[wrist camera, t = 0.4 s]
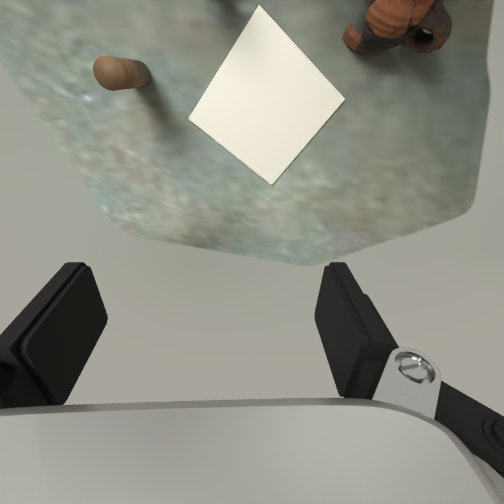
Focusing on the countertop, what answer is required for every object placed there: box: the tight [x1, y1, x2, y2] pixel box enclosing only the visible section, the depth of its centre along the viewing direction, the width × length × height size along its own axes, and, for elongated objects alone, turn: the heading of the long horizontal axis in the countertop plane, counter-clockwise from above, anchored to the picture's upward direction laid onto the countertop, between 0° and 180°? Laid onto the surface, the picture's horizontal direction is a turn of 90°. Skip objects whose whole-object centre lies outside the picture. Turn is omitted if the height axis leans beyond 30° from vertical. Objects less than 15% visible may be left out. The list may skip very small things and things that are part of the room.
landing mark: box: [189, 5, 345, 185], centre depth 35 cm, size 14×14×1 cm
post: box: [93, 56, 150, 91], centre depth 28 cm, size 3×3×9 cm
